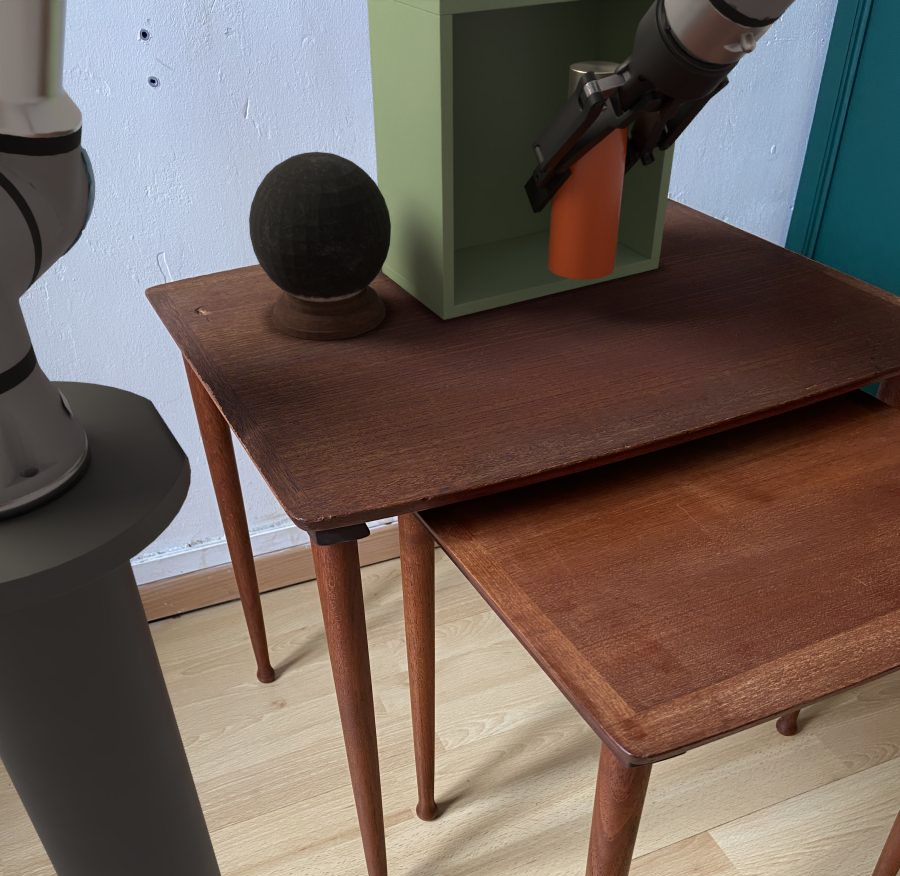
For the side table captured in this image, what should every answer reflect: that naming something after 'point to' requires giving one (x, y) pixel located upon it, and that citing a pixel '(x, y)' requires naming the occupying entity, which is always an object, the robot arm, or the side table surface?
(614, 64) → the spray can
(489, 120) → the cupboard
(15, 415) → the robot arm
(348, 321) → the black ball on stand
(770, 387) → the side table surface
